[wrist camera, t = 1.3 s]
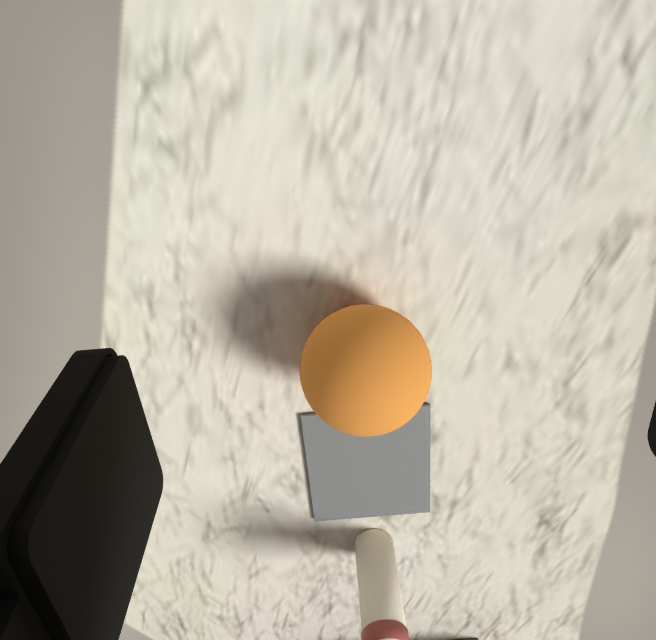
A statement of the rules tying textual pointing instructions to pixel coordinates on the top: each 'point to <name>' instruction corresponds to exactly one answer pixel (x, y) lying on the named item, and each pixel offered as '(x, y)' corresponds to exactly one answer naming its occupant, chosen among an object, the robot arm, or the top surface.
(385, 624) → the pin
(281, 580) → the top surface
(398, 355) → the ball
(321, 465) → the grey flat plate
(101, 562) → the robot arm
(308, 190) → the top surface
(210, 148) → the top surface
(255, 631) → the top surface
